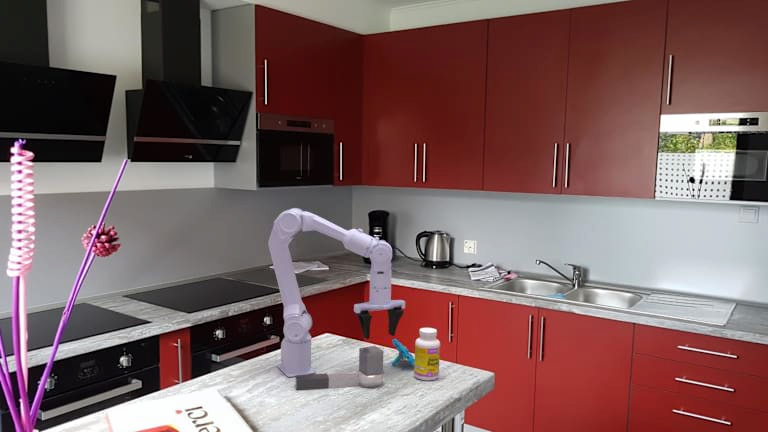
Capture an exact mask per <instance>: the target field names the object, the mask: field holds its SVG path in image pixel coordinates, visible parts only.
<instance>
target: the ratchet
mask: <svg viewBox="0 0 768 432" xmlns="http://www.w3.org/2000/svg"><path fill="white" fill-rule="evenodd" d="M384 374H385V371H384V370H383V374H379V375H373V376H366V375H364V374H363V373H361V372H360V371H359V369H357V370H356V372H349V373H331V374H330V373H329V374H328V373H314V374H307V375H296V376H295V389H296V391H305V390H306V391H307V390H320V389H321V390H323V389H332V388H333V389H334V388H349V387H350V388H351V387H353V388H354V387H360V388H363V389H377V388H380V387H382V386H384V383H385V382H384V377H385V375H384Z"/></svg>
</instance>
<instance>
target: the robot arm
mask: <svg viewBox="0 0 768 432" xmlns="http://www.w3.org/2000/svg"><path fill="white" fill-rule="evenodd" d="M301 231H302V232H308V231H309V232H311V231H317V232H319V233H320V234H324V235H326V236H328V237H331V238H333V239H336V240H337V241H340V242H342V244H343V246H344V248H345V249H346V250H349V251H351V252H353V253H354V254H356V255H360V256H361V257H363V258H369V259H370V261H371V266H370V267H371V268H370V270H369V301H366V302H361V303H355V304H354V305H353V312H354V313H355V315H356V316H357V319H358V320H359V325H360V326H361V330H362V335H363V338H364V339H365V340H369V339H370V338H371V337H370V336H371V323H372V317H373V315H371V314H370V312H375V311H377V312H378V311H383V310H387V317H388V327H387V329H388V330H387V331H388V335H389V336H392V337H395V335H396V331H397V328H398V325H399V322H400V320H401V318H402V317H403V315H404V309H406V301H405V300H402V299H391V297H392V258H393V249H392V246H391V245H390V244H389V242H386V240H384V239H381V240H380V237H377V236H375V237H373V236H371V235H370V234H367V233H365V232H364V230H363V229H361V228H358V229H356V228H352V229H348V230H347V229H345V228H343V227H341V226H339V225H337V224H334V222H331V221H328V220H327V219H326V218H323V217H321V216H319V215H317V214H314V213H312V212H310V211H306V210H304V211H303V210H302V209H301V208H299V207H298V208H297V207H294V208H293V207H292V208H290V209H287V210H284V211H283V212H281V213H280V214H279V215H278V216H277V218H276V219H275V220H274V221H273V226H272V229H271V232H270V235H269V239H268V242H267V245H268V249H269V252H270V256H271V262H272V264H273V269H274V273H275V276H276V280H277V285H278V289H279V293H280V296H281V297H280V298H281V301H282V305H283V320H284V325H283V334H284V338H283V339H282V341H281V342H280V364H277V368H278V369H279V370H281V371H282V373H283V374H284V375H286V377H288V378H292V377H293V378H294V377H296V375H309V374H317V371H316V369H314V368H313V367H312V336H311V333H310V332H309V331H310V330H311V328H312V326H313V319H312V316H311V314H309V313H308V310H307V309H306V305H305V304H304V302H303V300H302V297H301V292H300V287H299V284H298V280H297V276H296V272H295V269H294V264H293V260H292V255H291V252H290V249H289V244H290V243H291V242H292V240H293V239H294V237H295V236H296V235H297V234H298V233H299V232H301Z"/></svg>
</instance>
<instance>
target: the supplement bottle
mask: <svg viewBox="0 0 768 432" xmlns="http://www.w3.org/2000/svg"><path fill="white" fill-rule="evenodd" d="M418 333H419V334H418V335H419V337H418V338H416V340H415V344H414V345H415V346H414V359H415V364H414V366H413V367H414V370H413V372H414V373H413V375H414V377H415V378H416V379H418V380H421V381H434V380H437V379H438V378H439V375H440V353H441V342H440V340H439V339H437V336H438V330H437V329H436V328H432V327H421V328H419V332H418Z"/></svg>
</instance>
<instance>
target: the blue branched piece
mask: <svg viewBox="0 0 768 432" xmlns="http://www.w3.org/2000/svg"><path fill="white" fill-rule="evenodd" d="M391 342H392V345H393V346H394V347H395V348H396V350H397V352H398V355H397V356H396V357H395V358H394V361H392V362H391V365H392V366H393V367H395V366H396V365H397V364H398V363H399V362H400V361H401V360H404V359H406V360H407V362H408V363H409V364H410V365H412V366H413V367H414V364H415V357H414V356H413V355H412V354H411V353H410V351H409V350H408V347H406V346H405V345H403V344H402V343H401V342H399V340H398V339H396V338H394V339H392V340H391Z"/></svg>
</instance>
